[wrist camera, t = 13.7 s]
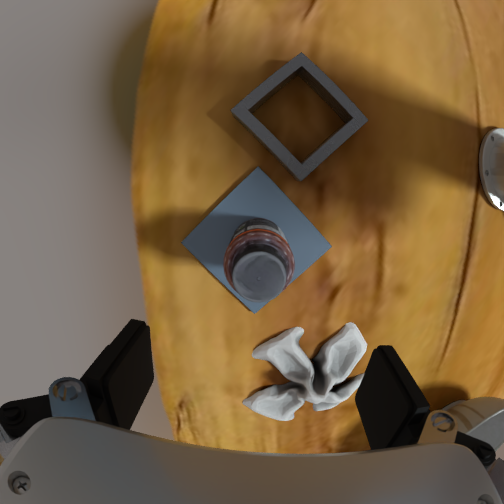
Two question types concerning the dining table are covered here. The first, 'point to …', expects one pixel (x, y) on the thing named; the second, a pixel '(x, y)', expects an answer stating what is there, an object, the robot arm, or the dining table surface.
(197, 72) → the dining table surface
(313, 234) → the board
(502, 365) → the dining table surface
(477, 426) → the decorative bowl
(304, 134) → the dining table surface
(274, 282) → the supplement bottle
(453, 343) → the dining table surface
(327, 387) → the cloth
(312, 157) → the collar
